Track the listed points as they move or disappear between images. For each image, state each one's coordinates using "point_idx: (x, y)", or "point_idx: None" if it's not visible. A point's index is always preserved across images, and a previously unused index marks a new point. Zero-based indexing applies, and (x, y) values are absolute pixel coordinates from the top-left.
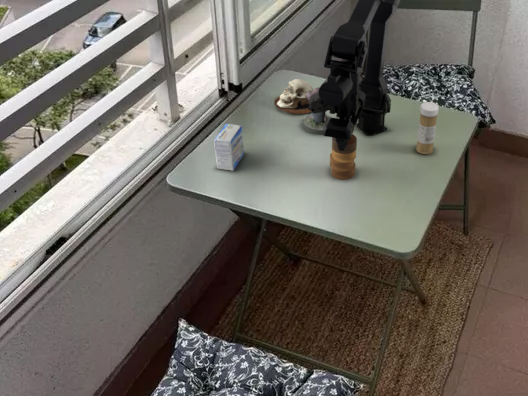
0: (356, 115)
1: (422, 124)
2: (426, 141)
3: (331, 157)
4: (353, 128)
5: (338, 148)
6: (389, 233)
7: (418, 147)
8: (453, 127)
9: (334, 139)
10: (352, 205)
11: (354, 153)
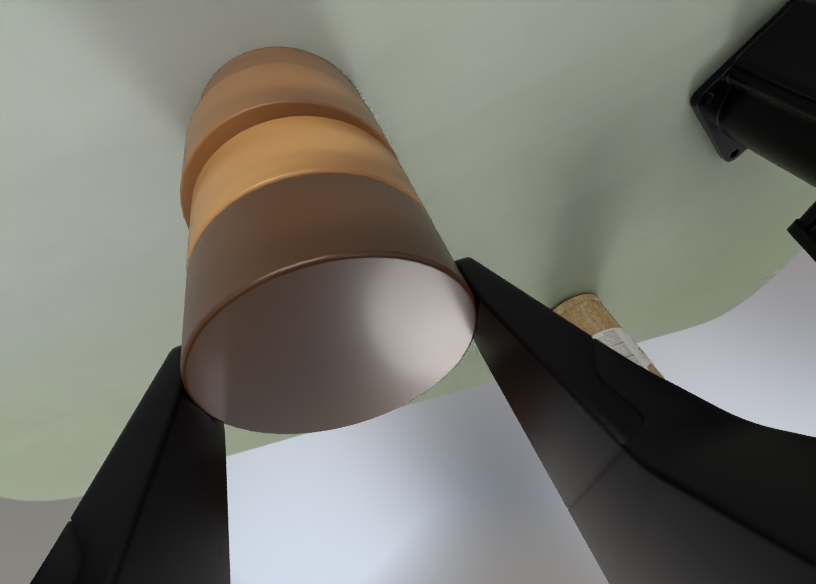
0: (614, 566)
1: None
2: None
3: (214, 144)
4: (506, 396)
5: (154, 378)
6: (44, 458)
7: (568, 320)
8: (690, 307)
9: (253, 316)
10: (46, 320)
11: None
